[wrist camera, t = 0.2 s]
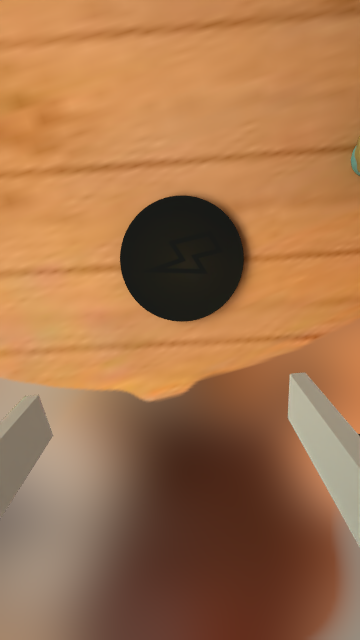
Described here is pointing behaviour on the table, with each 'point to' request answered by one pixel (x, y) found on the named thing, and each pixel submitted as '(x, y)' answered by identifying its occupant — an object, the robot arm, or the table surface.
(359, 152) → the cupcake
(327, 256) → the table surface
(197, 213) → the wireless charger
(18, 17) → the table surface
